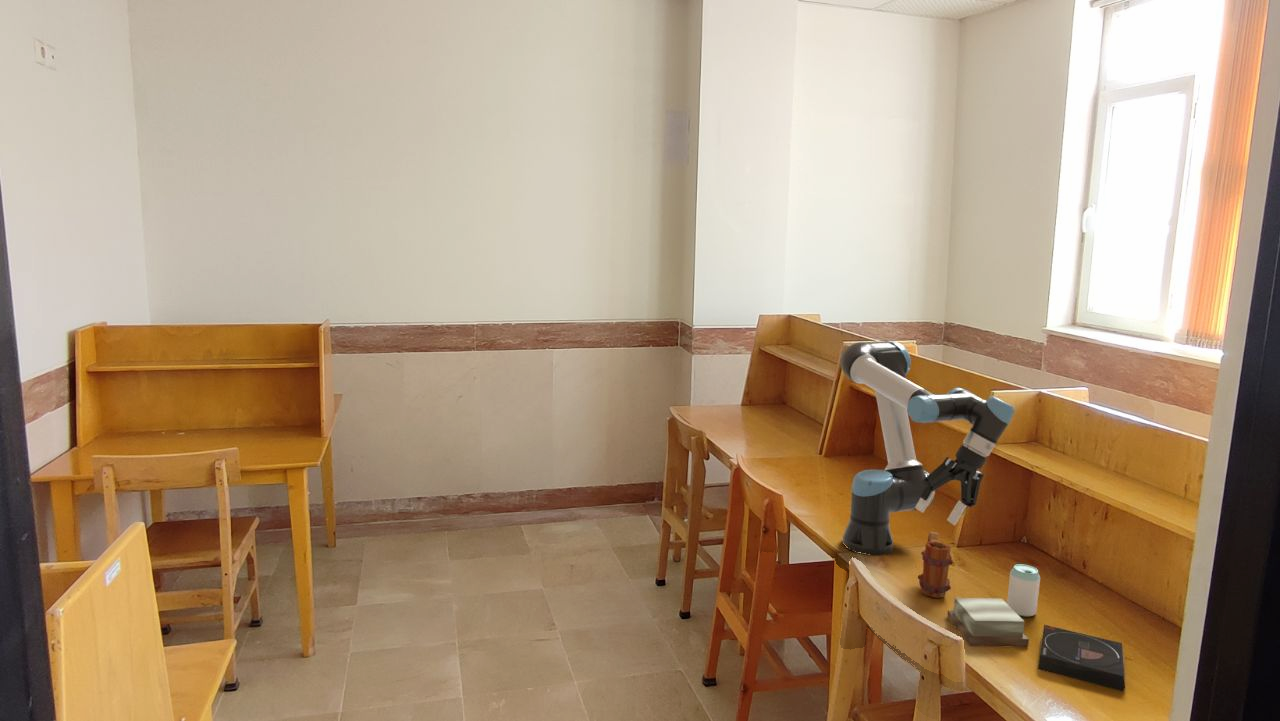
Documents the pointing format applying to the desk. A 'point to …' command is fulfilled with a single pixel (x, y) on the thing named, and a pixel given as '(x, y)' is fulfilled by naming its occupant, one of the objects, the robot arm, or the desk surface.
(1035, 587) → the can
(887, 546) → the robot arm
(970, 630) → the two-tier square plinth
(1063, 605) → the desk surface
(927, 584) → the mug
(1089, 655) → the portable cd player
